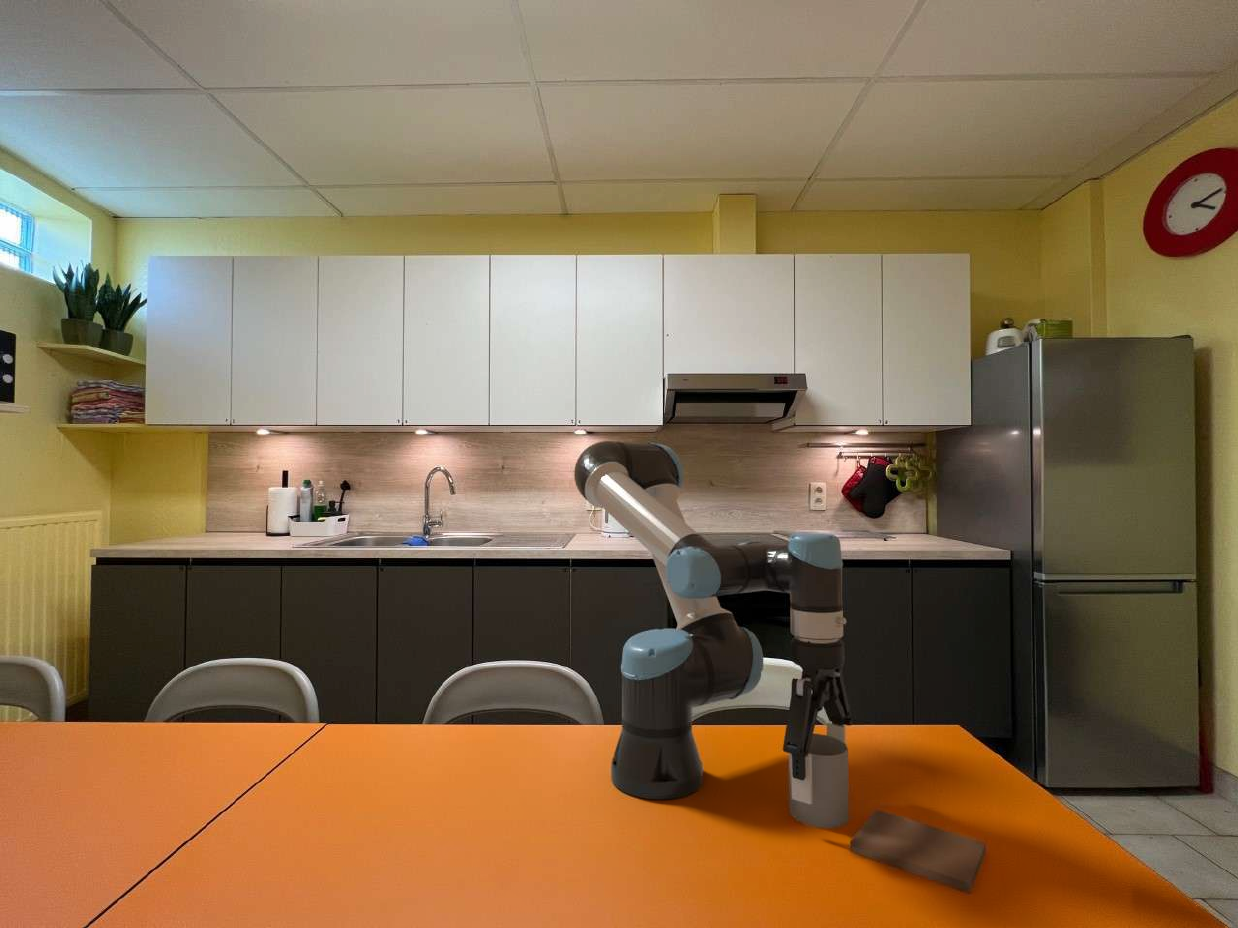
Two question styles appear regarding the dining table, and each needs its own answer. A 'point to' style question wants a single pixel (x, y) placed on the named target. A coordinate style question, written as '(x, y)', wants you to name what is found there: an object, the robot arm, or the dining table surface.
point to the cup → (825, 785)
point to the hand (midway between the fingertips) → (820, 783)
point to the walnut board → (920, 849)
